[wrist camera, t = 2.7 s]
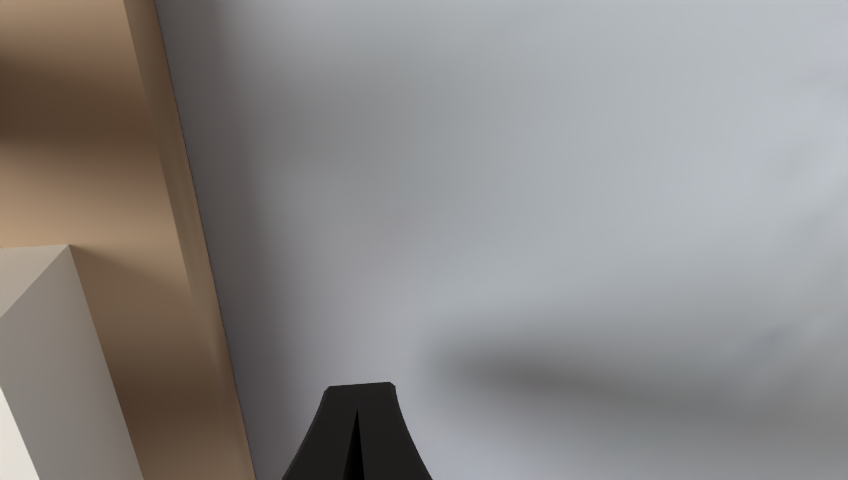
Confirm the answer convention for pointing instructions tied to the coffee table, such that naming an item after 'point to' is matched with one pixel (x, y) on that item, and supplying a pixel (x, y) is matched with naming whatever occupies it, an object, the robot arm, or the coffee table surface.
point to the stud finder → (55, 376)
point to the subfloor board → (121, 220)
